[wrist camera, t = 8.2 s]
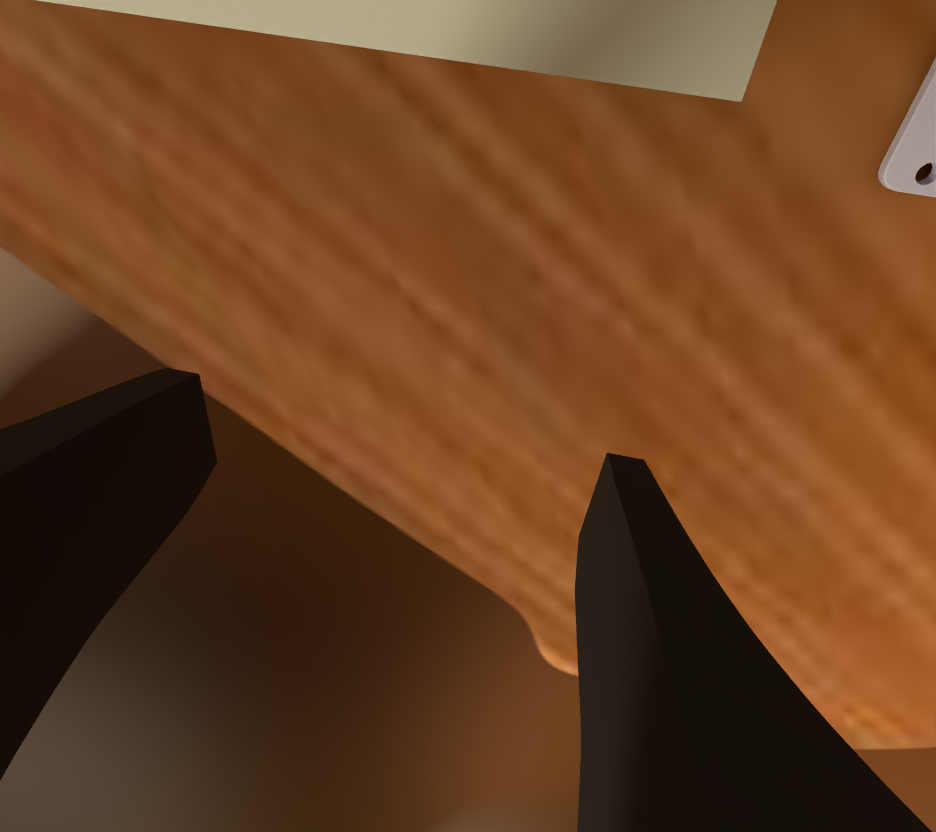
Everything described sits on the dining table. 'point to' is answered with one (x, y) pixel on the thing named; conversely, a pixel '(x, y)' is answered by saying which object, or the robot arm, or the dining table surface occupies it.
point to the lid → (517, 33)
